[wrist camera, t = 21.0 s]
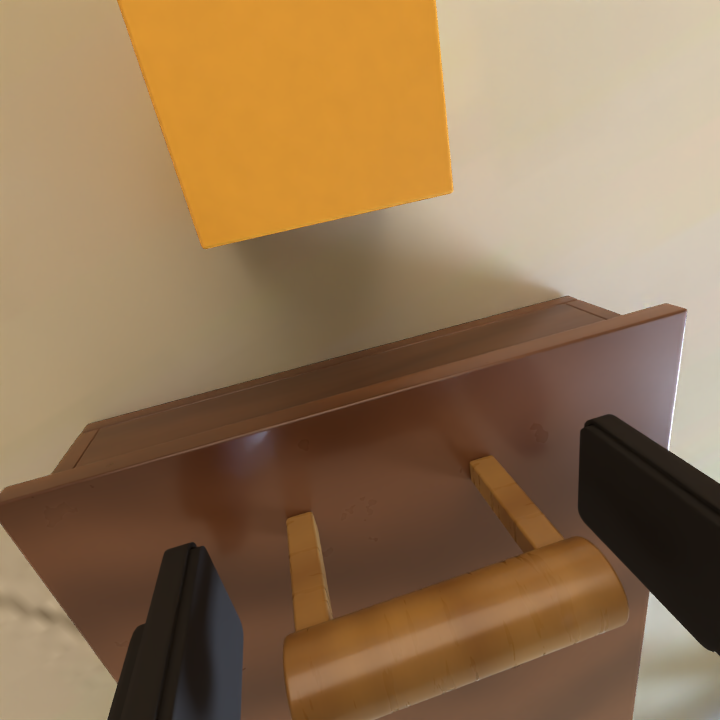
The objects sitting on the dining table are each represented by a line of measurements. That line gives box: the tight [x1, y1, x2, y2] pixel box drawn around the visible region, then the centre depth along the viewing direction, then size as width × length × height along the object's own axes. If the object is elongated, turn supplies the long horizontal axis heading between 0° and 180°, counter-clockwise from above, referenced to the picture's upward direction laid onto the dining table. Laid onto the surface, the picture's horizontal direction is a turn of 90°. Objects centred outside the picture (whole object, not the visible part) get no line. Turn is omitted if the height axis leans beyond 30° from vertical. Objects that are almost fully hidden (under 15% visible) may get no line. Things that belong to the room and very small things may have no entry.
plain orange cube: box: [117, 0, 453, 249], centre depth 9 cm, size 5×5×5 cm
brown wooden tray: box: [52, 296, 621, 474], centre depth 17 cm, size 19×17×4 cm
